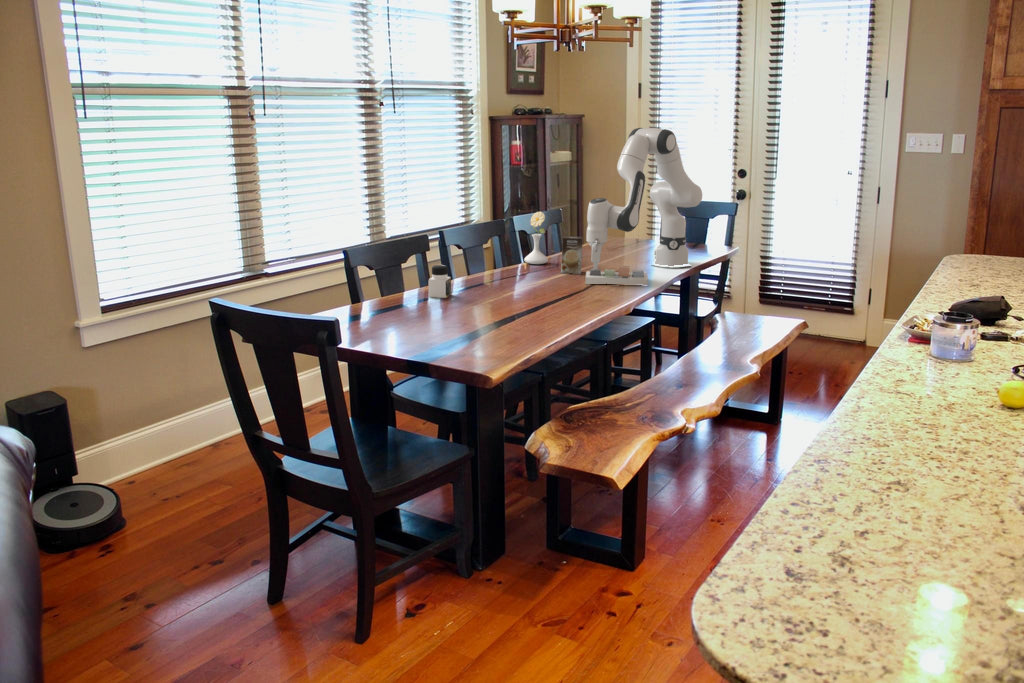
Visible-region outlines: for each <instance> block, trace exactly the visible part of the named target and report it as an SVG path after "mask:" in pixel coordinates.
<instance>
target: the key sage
mask: <svg viewBox="0 0 1024 683" xmlns="http://www.w3.org/2000/svg"><path fill="white" fill-rule="evenodd" d="M603 272H604V276H615V272H616V269H612V268H611V269H608V268H607V269H606V268H605V269H604V271H603Z"/></svg>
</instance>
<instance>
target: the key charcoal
mask: <svg viewBox="0 0 1024 683" xmlns="http://www.w3.org/2000/svg"><path fill="white" fill-rule="evenodd" d="M589 271H590V275H593V276H601V272H602V269H601V268H598V270H593V268H590V270H589Z"/></svg>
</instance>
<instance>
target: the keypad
mask: <svg viewBox="0 0 1024 683" xmlns="http://www.w3.org/2000/svg"><path fill="white" fill-rule="evenodd" d="M604 272H605V271H601V276H593V275H590V270H586V272H585V280H584V281H585V283H584V284H585V285H590V284H606V283H607V284H643V285H648V286H649V278H648V273H647V272H644V275H643V277H633V272H629V277H628V276H618V274H619V271H615V276H604Z"/></svg>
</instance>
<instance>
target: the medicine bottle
mask: <svg viewBox="0 0 1024 683" xmlns="http://www.w3.org/2000/svg"><path fill="white" fill-rule="evenodd" d="M431 276H432V277H430V278H429V279H428V298H436V297H437V298H440V299H447V298H448V297H449V296H450V295H451V294H452V283H451V282H452V278H451V276H448V266H447V265H443V264H435V265H433V266H432V267H431Z"/></svg>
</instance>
